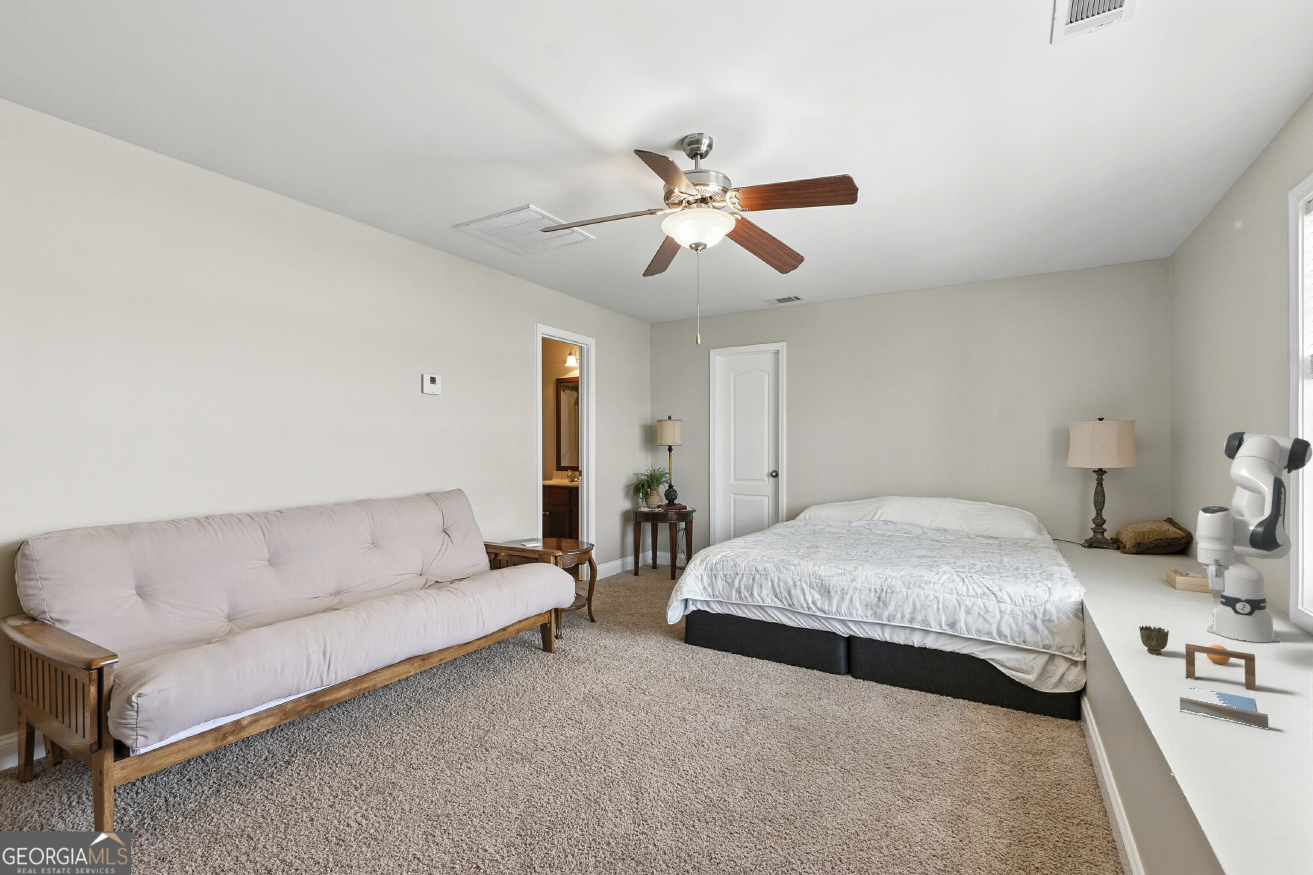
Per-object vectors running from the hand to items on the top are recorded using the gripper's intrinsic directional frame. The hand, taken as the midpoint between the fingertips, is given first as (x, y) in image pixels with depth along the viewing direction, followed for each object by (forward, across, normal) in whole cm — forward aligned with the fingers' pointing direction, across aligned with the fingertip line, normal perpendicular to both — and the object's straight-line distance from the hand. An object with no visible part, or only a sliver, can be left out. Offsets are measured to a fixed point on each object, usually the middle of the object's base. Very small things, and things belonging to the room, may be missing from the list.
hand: (1216, 601), depth 198 cm
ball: (+14, -10, 0) cm, 17 cm away
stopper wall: (+17, -60, 0) cm, 62 cm away
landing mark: (+17, -46, 0) cm, 49 cm away
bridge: (+17, -30, 0) cm, 34 cm away
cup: (+17, -11, +15) cm, 25 cm away
